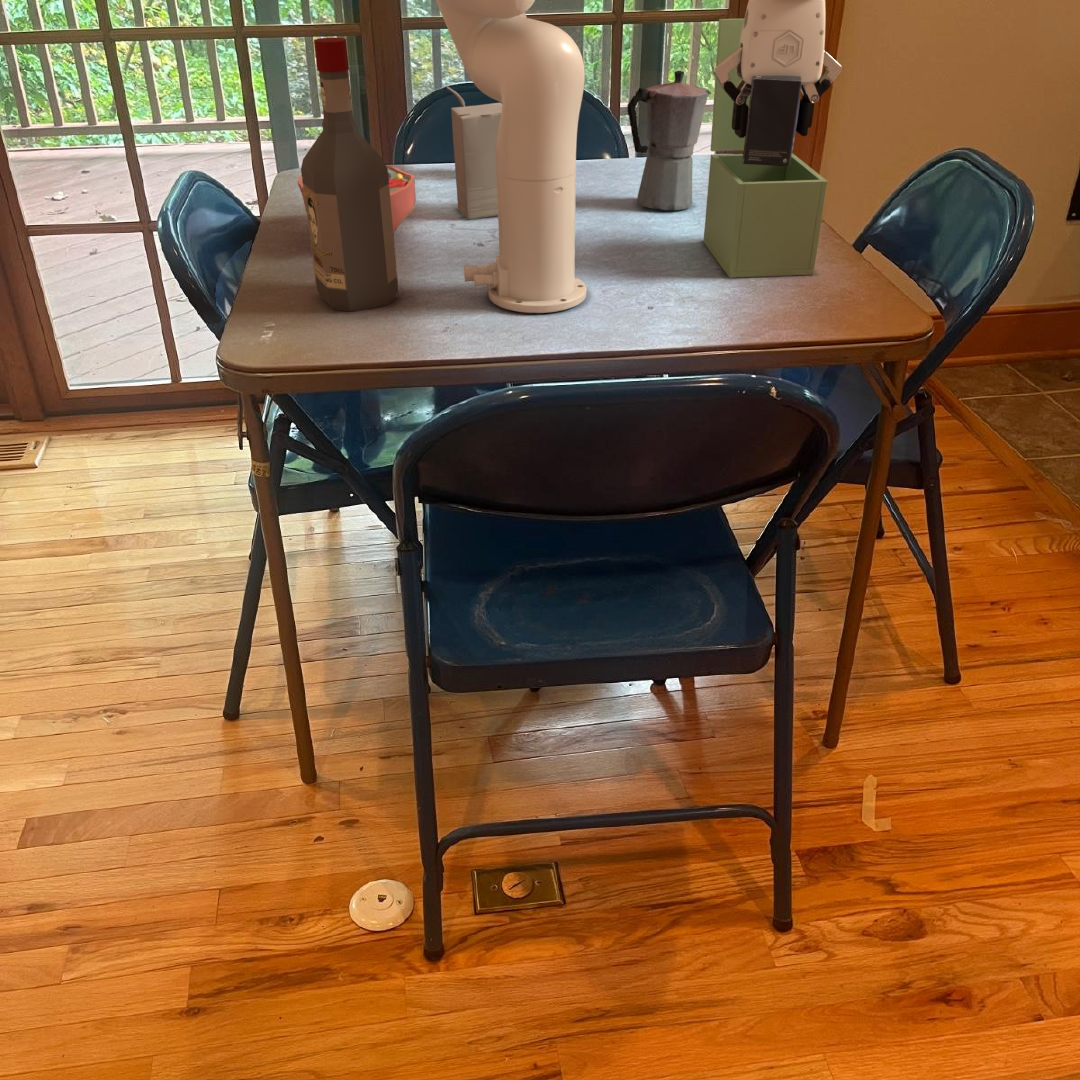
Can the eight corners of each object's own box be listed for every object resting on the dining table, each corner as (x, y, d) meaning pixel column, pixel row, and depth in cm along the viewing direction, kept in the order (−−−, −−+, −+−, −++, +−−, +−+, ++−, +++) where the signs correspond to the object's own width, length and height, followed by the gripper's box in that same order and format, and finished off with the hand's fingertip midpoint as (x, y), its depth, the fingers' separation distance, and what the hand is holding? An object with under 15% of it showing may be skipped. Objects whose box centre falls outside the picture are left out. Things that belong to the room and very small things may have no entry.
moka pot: (718, 204, 163) (731, 70, 152) (645, 220, 156) (652, 81, 145) (680, 191, 170) (689, 62, 158) (608, 206, 163) (612, 72, 151)
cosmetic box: (504, 204, 164) (502, 100, 155) (517, 216, 158) (515, 109, 149) (454, 209, 162) (448, 104, 153) (465, 221, 156) (460, 113, 147)
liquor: (380, 281, 134) (355, 32, 117) (404, 303, 127) (382, 42, 111) (313, 292, 131) (278, 37, 114) (334, 315, 124) (301, 48, 107)
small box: (792, 168, 129) (804, 79, 123) (741, 165, 130) (750, 77, 124) (792, 148, 137) (802, 65, 131) (744, 146, 138) (752, 63, 132)
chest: (813, 274, 135) (827, 181, 128) (729, 278, 134) (738, 183, 127) (780, 239, 148) (791, 152, 141) (703, 241, 147) (710, 154, 140)
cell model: (306, 261, 141) (294, 178, 134) (304, 220, 157) (293, 145, 151) (425, 253, 144) (420, 171, 137) (411, 213, 160) (406, 139, 154)
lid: (806, 17, 132) (804, 17, 133) (720, 19, 132) (718, 19, 132) (793, 149, 140) (791, 148, 141) (711, 151, 140) (710, 150, 140)
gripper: (725, -14, 118) (712, 143, 128) (868, -16, 120) (844, 139, 129) (710, -20, 125) (699, 130, 134) (846, -22, 126) (825, 126, 136)
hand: (770, 133), depth 132 cm, fingers closed on small box, 7 cm apart
